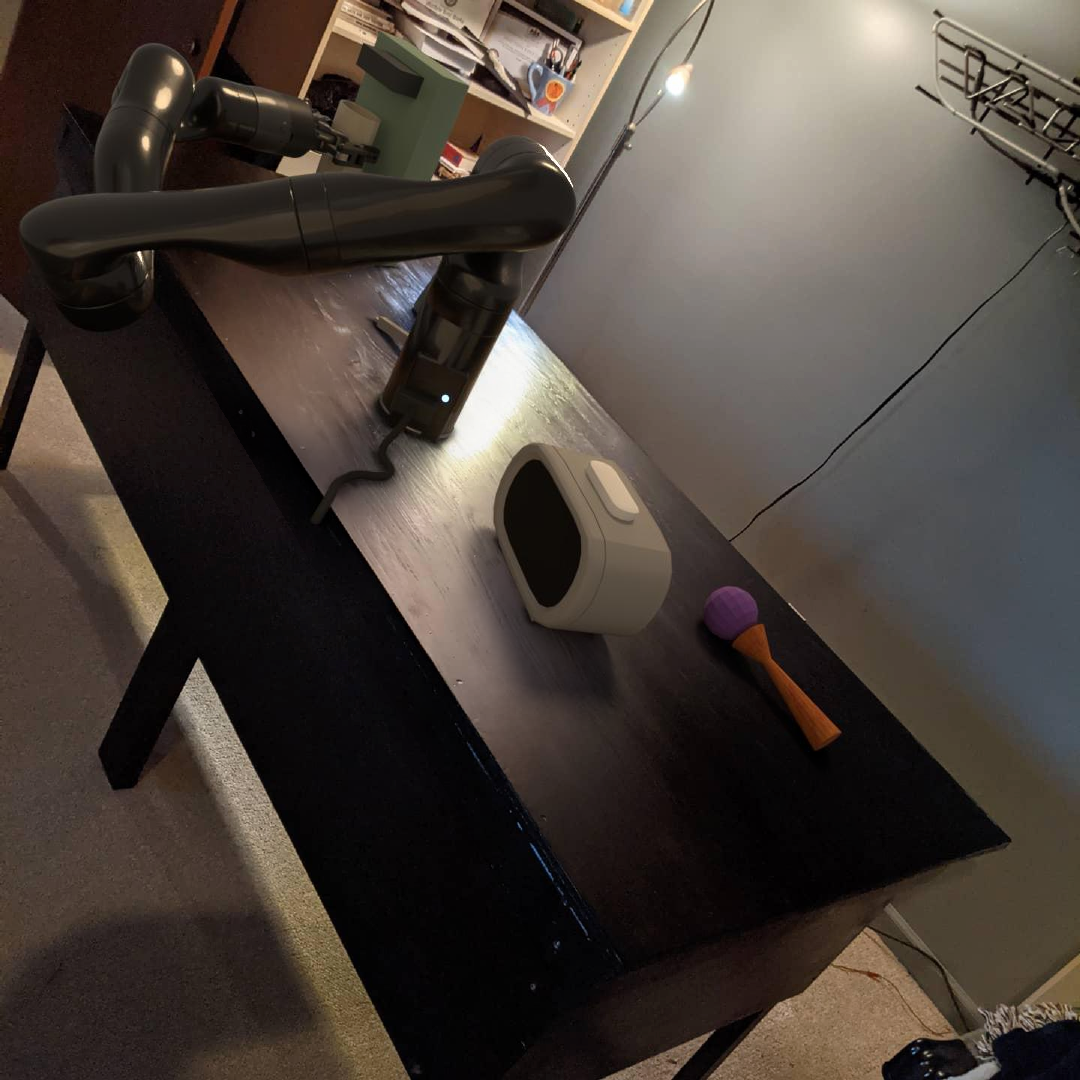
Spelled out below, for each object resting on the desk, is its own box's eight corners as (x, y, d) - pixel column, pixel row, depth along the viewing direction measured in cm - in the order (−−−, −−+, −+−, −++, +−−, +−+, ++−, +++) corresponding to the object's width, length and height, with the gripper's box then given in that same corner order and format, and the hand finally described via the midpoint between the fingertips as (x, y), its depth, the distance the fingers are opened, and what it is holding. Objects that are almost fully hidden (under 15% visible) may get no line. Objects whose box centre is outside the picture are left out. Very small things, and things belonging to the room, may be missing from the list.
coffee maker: (319, 260, 124) (392, 57, 109) (263, 211, 128) (326, 9, 113) (395, 266, 137) (470, 85, 122) (342, 221, 141) (407, 41, 126)
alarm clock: (478, 512, 92) (534, 412, 85) (550, 526, 97) (608, 433, 90) (537, 655, 78) (610, 549, 71) (618, 663, 83) (693, 564, 76)
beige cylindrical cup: (350, 198, 124) (378, 124, 118) (311, 178, 122) (337, 103, 116) (357, 189, 129) (383, 118, 123) (319, 169, 127) (344, 97, 121)
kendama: (826, 735, 83) (709, 581, 93) (793, 764, 87) (684, 613, 96) (862, 718, 86) (745, 571, 96) (828, 747, 90) (720, 603, 100)
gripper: (230, 123, 115) (324, 144, 128) (293, 177, 110) (384, 193, 124) (246, 67, 111) (341, 95, 124) (312, 120, 106) (403, 144, 120)
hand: (362, 144), depth 124 cm, fingers closed on beige cylindrical cup, 6 cm apart
